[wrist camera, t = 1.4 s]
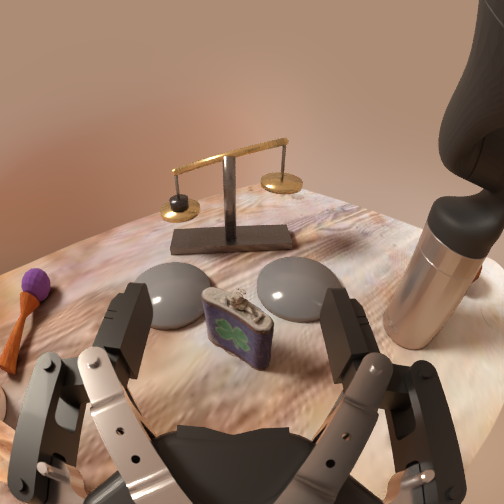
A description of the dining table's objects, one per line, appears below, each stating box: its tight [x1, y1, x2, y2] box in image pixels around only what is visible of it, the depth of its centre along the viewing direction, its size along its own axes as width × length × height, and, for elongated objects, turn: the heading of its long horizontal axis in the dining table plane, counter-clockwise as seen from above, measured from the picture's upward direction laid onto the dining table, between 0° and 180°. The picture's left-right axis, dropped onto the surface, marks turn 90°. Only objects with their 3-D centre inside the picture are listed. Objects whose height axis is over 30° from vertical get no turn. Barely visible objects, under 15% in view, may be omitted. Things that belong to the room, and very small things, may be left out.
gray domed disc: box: [257, 257, 340, 322], centre depth 43 cm, size 13×13×1 cm
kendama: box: [0, 268, 50, 375], centre depth 32 cm, size 6×6×20 cm
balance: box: [160, 138, 303, 255], centre depth 46 cm, size 24×7×20 cm, turn 96°
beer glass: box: [0, 420, 15, 484], centre depth 12 cm, size 7×7×15 cm
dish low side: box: [134, 262, 211, 330], centre depth 41 cm, size 13×13×1 cm
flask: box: [201, 287, 274, 370], centre depth 31 cm, size 9×3×11 cm, turn 56°
